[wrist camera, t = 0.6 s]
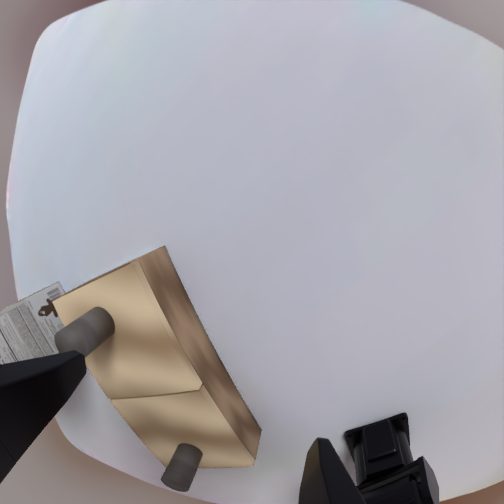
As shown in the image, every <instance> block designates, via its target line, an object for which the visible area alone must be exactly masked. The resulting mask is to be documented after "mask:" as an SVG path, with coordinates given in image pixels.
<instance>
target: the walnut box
mask: <svg viewBox="0 0 504 504" xmlns="http://www.w3.org/2000/svg"><path fill="white" fill-rule="evenodd" d="M136 261H139V263H140V266H141V268H142V270H143V272H144V274H145V277H146V279H147V281H148V283H149V285H150V287H151V289H152V291H153V293H154V295H155V298H156V300H157V302H158V304H159V306H160V308H161V310H162V312H163V313H164V315H165V317H166V319H167V321H168V323H169V325H170V327H171V329H172V331H173V333H174V334H175V336H176V338H177V340H178V342H179V344H180V345H181V347H182V349H183V351H184V352H185V354H186V356H187V358H188V359H189V361H190V363H191V365H192V366H193V368H194V370H195V371H196V373H197V375H198V376H199V378H200V380H201V381H202V385H204V386H205V388H206V390H207V391H208V393H209V394H210V396H211V397H212V399H213V401H214V402H215V404H216V405H217V407H218V408H219V410H220V411H221V413H222V414H223V416H224V417H225V419H226V420H227V422H228V423H229V425H230V426H231V428H232V429H233V431H234V432H235V433H236V435H237V436H238V438H239V439H240V440H241V442H242V443H243V445H244V446H245V447H246V449H247V450H248V451H249V453H250V454H251V455H252V457H253V458H254V459H256V454H257V449H258V445H259V440H260V435H261V431H262V430H261V428H260V427H259V425H258V423H257V422H256V420H255V418H254V417H253V415H252V414H251V412H250V410H249V409H248V407H247V405H246V404H245V402H244V400H243V398H242V397H241V395H240V393H239V392H238V390H237V388H236V386H235V385H234V383H233V381H232V379H231V378H230V376H229V374H228V372H227V370H226V369H225V367H224V365H223V363H222V361H221V360H220V358H219V356H218V354H217V352H216V350H215V348H214V346H213V345H212V343H211V341H210V339H209V337H208V335H207V333H206V331H205V329H204V327H203V325H202V323H201V321H200V319H199V317H198V315H197V313H196V311H195V309H194V307H193V305H192V303H191V301H190V299H189V297H188V295H187V293H186V291H185V289H184V287H183V284H182V282H181V280H180V278H179V276H178V274H177V272H176V269H175V267H174V265H173V263H172V261H171V258H170V256H169V254H168V252H167V249H166V247H165V246H163V247H160V248H158V249H156V250H154V251H151V252H149V253H147V254H145V255H143V256H141V257H138V258H136V259H134V260H132V261H130V262H128V263H126V264H123V265H121V266H119V267H117V268H115V269H113V270H111V271H109V272H107V273H105V274H102V275H100V276H98V277H96V278H94V279H92V280H90V281H88V282H86V283H84V284H82V285H80V286H78V287H77V288H75V289H73V290H71V291H69V292H67V293H65V294H63V295H62V296H64V295H66V294H69V293H71V292H73V291H75V290H77V289H79V288H81V287H83V286H85V285H87V284H89V283H91V282H93V281H95V280H97V279H99V278H102V277H104V276H106V275H108V274H110V273H112V272H114V271H116V270H118V269H121V268H123V267H125V266H127V265H129V264H131V263H134V262H136ZM62 296H60V297H62ZM60 297H59V298H60Z"/></svg>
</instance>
